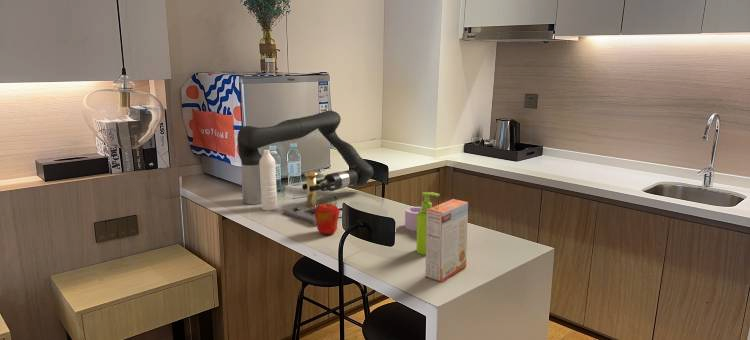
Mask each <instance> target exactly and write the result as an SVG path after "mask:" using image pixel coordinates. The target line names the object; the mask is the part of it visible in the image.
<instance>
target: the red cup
mask: <svg viewBox="0 0 750 340" xmlns="http://www.w3.org/2000/svg"><path fill="white" fill-rule="evenodd" d="M339 216H340V209H339V208H338V206H337V205H335V204H333V203H328V202H326V203H321V204H317V208H316V210H315V218H316V222H317V225H316V229H317V231H319V232H320V233H321V234H322V235H328V236H329V235H333V234H335V233H336V232H337V230H338V220H339Z"/></svg>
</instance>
